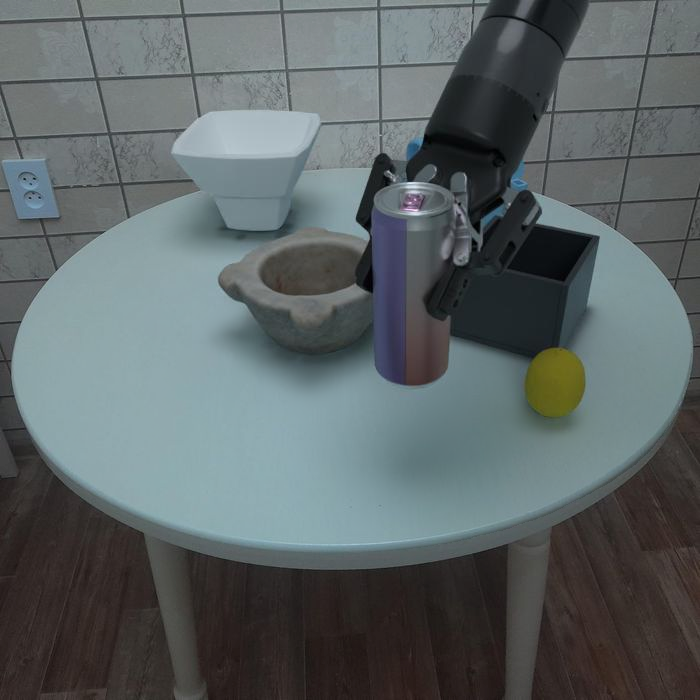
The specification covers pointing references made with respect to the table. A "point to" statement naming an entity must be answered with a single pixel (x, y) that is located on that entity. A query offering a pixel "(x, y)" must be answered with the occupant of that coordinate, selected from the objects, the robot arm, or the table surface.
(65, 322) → the table surface
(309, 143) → the bowl
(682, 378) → the table surface
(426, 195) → the beverage can
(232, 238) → the table surface
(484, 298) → the open box
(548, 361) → the lemon
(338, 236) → the mortar
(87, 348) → the table surface
